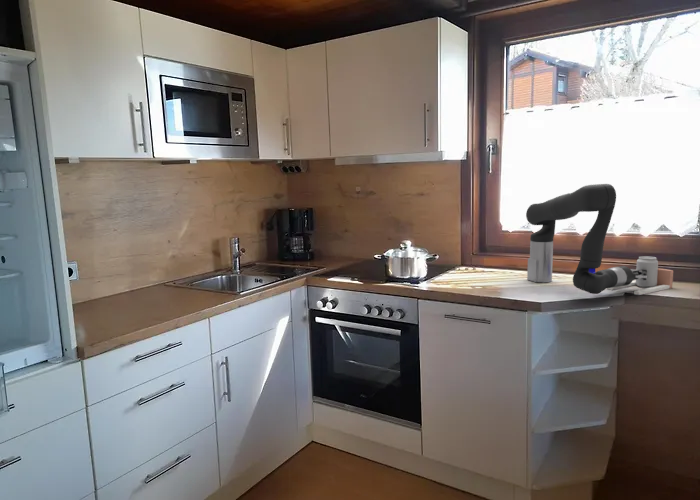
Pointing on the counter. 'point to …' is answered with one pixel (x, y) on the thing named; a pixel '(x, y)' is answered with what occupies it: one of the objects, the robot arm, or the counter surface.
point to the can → (648, 271)
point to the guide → (662, 282)
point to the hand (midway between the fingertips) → (644, 271)
